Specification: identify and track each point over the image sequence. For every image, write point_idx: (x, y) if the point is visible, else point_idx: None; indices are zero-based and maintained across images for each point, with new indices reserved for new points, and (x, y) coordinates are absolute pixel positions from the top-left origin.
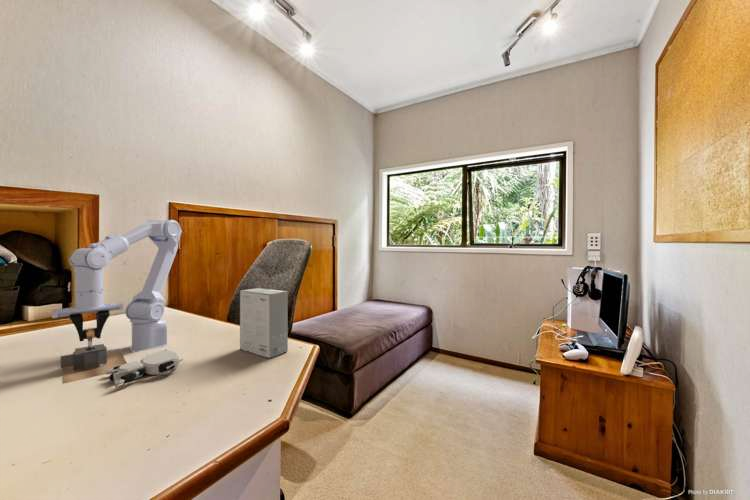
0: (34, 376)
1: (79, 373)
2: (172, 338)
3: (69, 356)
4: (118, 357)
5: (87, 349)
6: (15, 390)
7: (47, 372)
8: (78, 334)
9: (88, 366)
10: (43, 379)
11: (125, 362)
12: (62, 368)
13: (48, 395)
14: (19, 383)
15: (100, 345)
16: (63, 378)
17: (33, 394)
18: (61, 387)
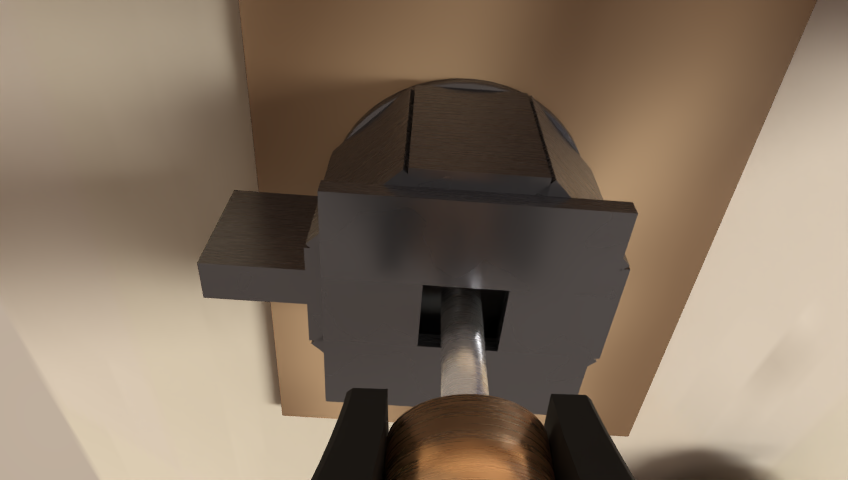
0: (55, 80)
1: None
2: None
3: (280, 296)
4: (713, 136)
5: (441, 276)
6: (43, 305)
7: (135, 39)
8: (322, 470)
9: None
10: (153, 218)
11: (671, 319)
12: (249, 91)
13: (238, 469)
14: (5, 183)
15: (583, 268)
16: (280, 343)
17: (166, 420)
18: (282, 421)
